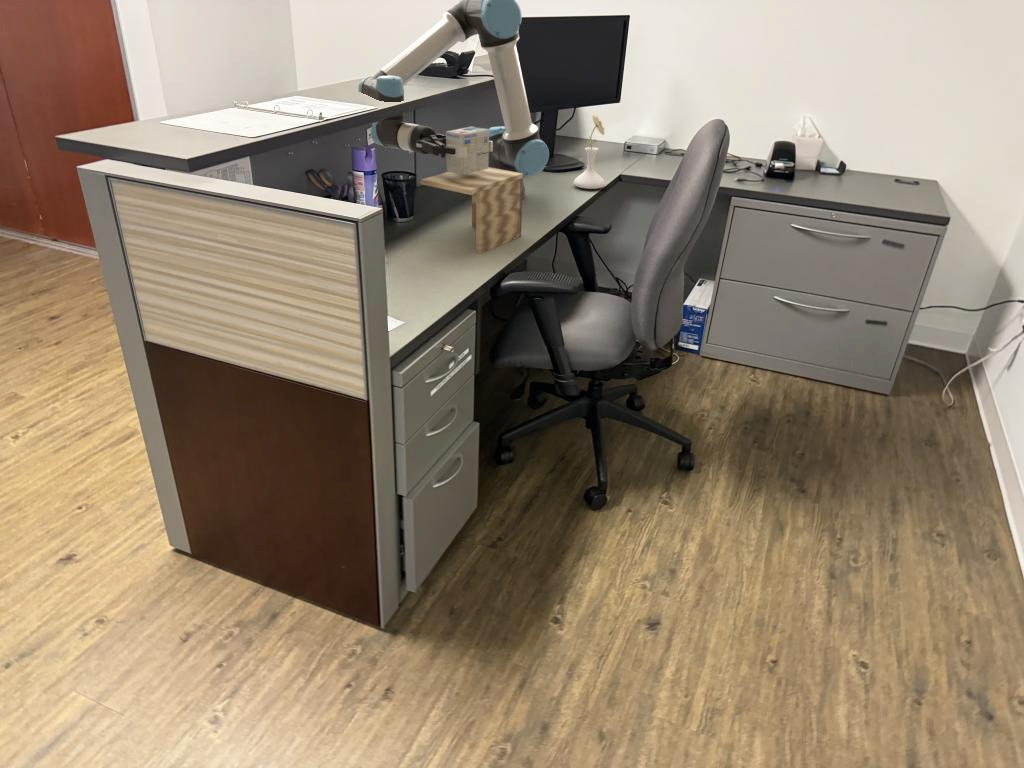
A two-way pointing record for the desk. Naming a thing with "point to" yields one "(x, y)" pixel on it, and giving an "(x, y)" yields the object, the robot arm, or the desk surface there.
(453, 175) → the wooden monitor riser
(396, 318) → the desk surface
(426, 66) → the robot arm
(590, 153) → the flower in vase
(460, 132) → the light bulb box
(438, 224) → the desk surface
